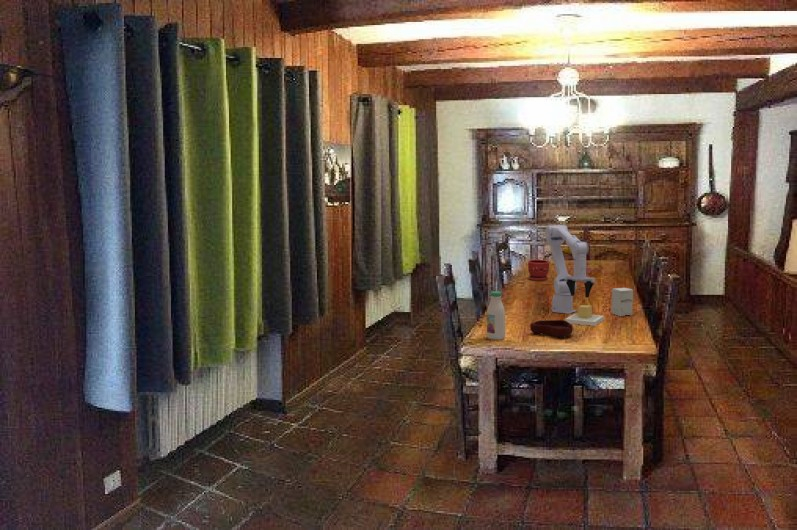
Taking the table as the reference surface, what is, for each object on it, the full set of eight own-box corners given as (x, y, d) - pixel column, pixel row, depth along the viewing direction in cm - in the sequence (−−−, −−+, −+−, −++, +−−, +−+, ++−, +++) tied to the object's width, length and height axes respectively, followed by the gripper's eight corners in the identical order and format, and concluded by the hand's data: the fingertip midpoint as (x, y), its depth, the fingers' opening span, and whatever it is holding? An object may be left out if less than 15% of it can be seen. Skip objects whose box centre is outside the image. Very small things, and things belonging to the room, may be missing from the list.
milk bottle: (503, 335, 311) (503, 290, 308) (506, 339, 304) (506, 293, 301) (485, 336, 311) (485, 290, 308) (488, 340, 303) (488, 293, 301)
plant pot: (526, 281, 449) (526, 262, 448) (529, 277, 462) (529, 259, 460) (548, 281, 446) (548, 262, 444) (550, 278, 458) (550, 259, 456)
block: (578, 317, 334) (578, 306, 333) (582, 315, 337) (583, 304, 336) (587, 318, 331) (587, 307, 330) (591, 316, 334) (592, 305, 333)
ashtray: (582, 333, 312) (582, 322, 312) (563, 341, 300) (563, 329, 300) (546, 328, 324) (546, 317, 323) (526, 335, 312) (526, 323, 312)
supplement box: (619, 316, 342) (619, 290, 340) (610, 313, 349) (611, 288, 347) (633, 315, 344) (633, 289, 342) (624, 312, 351) (624, 287, 349)
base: (564, 323, 332) (564, 318, 331) (574, 317, 343) (574, 313, 343) (595, 326, 324) (595, 321, 324) (604, 320, 336) (604, 315, 336)
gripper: (561, 267, 341) (561, 296, 342) (590, 269, 331) (589, 299, 332) (569, 266, 346) (569, 294, 347) (597, 268, 336) (597, 296, 338)
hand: (579, 296), depth 340 cm, fingers open, 7 cm apart
